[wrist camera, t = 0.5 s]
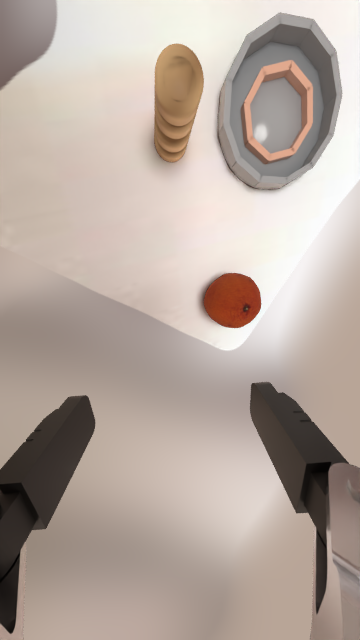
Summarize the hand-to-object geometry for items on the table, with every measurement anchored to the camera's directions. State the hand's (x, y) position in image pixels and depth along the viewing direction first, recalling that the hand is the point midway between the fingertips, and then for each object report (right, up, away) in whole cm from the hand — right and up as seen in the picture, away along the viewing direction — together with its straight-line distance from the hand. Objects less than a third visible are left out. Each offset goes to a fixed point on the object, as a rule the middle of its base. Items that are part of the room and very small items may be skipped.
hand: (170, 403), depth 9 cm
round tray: (+14, +32, +16) cm, 39 cm away
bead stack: (-1, +29, +15) cm, 32 cm away
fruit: (+9, +9, +24) cm, 27 cm away
